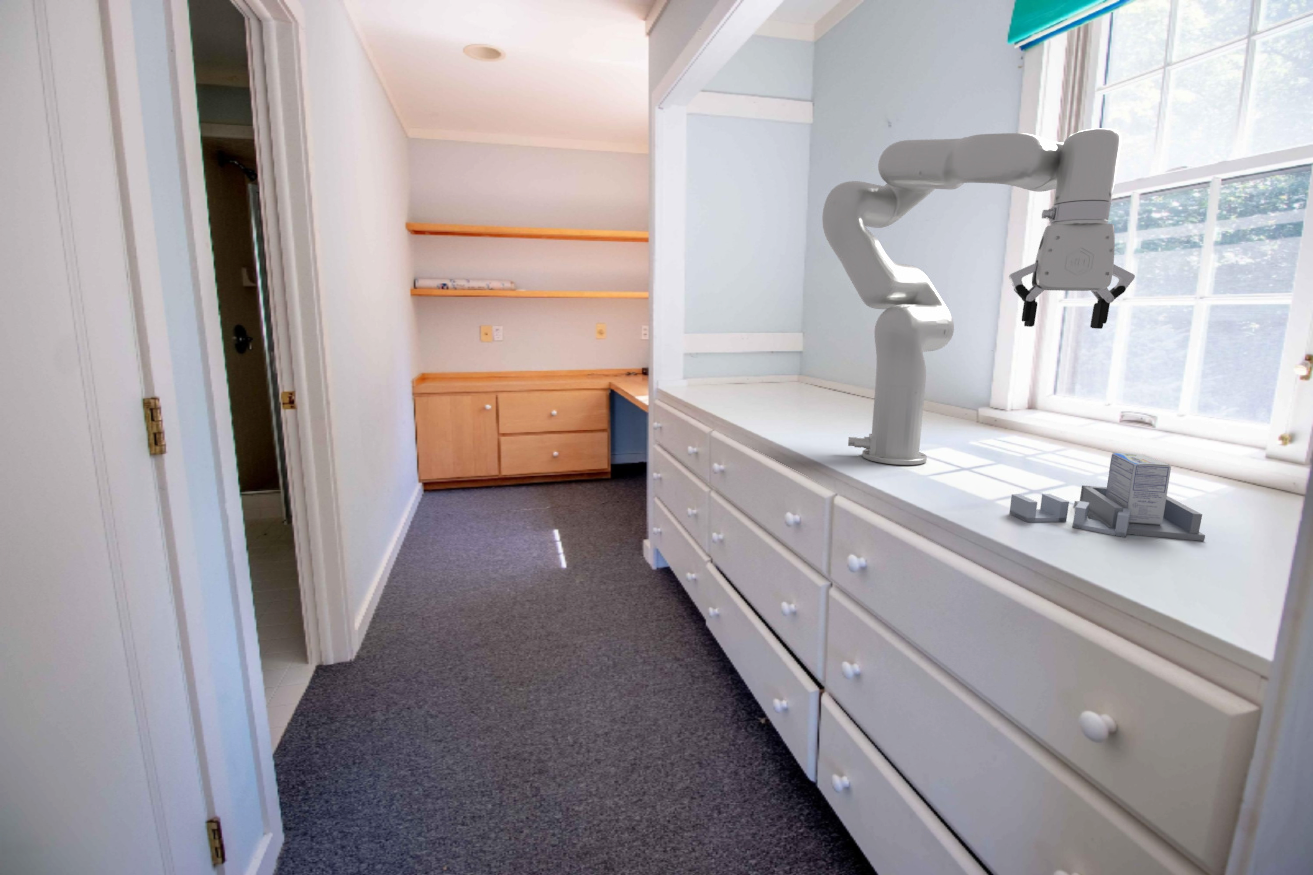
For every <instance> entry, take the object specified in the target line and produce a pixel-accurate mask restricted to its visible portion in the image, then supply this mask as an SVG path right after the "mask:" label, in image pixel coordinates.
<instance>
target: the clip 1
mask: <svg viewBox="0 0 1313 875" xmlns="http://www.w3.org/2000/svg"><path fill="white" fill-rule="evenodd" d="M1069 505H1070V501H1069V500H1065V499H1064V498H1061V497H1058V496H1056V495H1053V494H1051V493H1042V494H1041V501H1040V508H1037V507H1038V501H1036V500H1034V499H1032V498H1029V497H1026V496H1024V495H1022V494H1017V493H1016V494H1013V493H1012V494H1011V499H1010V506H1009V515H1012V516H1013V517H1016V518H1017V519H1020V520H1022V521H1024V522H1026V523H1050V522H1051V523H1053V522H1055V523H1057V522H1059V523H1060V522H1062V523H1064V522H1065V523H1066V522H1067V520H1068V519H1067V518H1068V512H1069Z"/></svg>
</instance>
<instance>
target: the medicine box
mask: <svg viewBox="0 0 1313 875" xmlns="http://www.w3.org/2000/svg"><path fill="white" fill-rule="evenodd" d="M1109 462H1110V463H1109V470H1108V477H1107V482H1106V483H1107V484H1106V487H1107V489H1106V497H1107V498H1109V499H1110V500H1112V501H1113V502H1115V503H1116V504H1118V505H1119V506H1121V507H1123V508H1125V509H1131V514H1130V520H1129V523H1138V524H1150V525H1161V524H1162V523H1163V517H1164V510H1165V503H1166V497H1167V496H1168V490H1169V483H1170V477H1171V476H1170V475H1171V470H1172V469H1171V468H1172V466H1171V465H1170V464H1167V463H1166V462H1164V461H1161V460H1159V459H1157V458H1155V457H1152V456H1149V455H1147V454H1145V453H1144V454H1143V453H1142V454H1141V453H1133V452H1132V453H1131V452H1115V453H1114V452H1113V453H1112V454H1111V456H1110V461H1109Z"/></svg>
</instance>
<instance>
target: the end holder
mask: <svg viewBox="0 0 1313 875" xmlns="http://www.w3.org/2000/svg"><path fill="white" fill-rule="evenodd" d="M1106 489H1107V486H1095V485H1084V484H1083V485H1081V491H1080V496H1079V500H1074V503H1073V507H1076V505H1077V504H1078V502H1079V501H1083V502H1089V509H1088V516H1087V518H1088V519H1093V520H1098V521H1100V522H1101V523H1103V524H1104V525H1105V526H1107V527H1108V528H1110V529H1116V522H1117V516H1118V513H1119V511H1121V512H1123V509H1124V508H1123V507H1121V506H1119V505H1118V504H1116V503H1115V502H1113V501H1112V500H1110V499H1109V498H1107V497H1106ZM1202 517H1203V514H1202V513H1201V512H1198V511H1197V510H1195V509H1192V508H1191V507H1189V506H1188V505H1185V504H1183V503H1182V502H1179V501H1177V500H1176V499H1174V498H1172V497H1170V496H1169V495H1167V497H1166V503H1165V510H1164V517H1163V523H1162V524H1161V525H1150V524H1138V523H1129V525H1128V528H1127V534H1126V535H1130V534H1135V535H1134V536H1142V535H1143V536H1144V537H1155V538H1156V537H1157V538H1167V539H1176V540H1177V539H1178V540H1187V541H1189V540H1190V541H1200V542H1205V539H1206V535H1205V534H1203V533H1202V532H1200V528H1201V523H1202ZM1143 536H1142V537H1143Z"/></svg>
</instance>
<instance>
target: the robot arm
mask: <svg viewBox="0 0 1313 875" xmlns="http://www.w3.org/2000/svg"><path fill="white" fill-rule="evenodd" d="M1121 146H1122V135H1121V133H1120V132H1119V131H1118V130H1116V129H1112V128H1102V127H1100V128H1091V129H1085V130H1080V131H1077V132H1074V133H1071V134H1070V135H1069V136H1067V137H1066V139H1065V140H1064V141H1063V142H1060V141H1059V142H1058V141H1053V140H1049V139H1046V138H1044V137H1041V136H1037V135H1034V134H1030V133H1025V132H1024V133H1022V132H1011V133H1010V132H1008V133H1006V132H1005V133H982V134H975V135H973V134H972V135H969V136H964V137H960V138H944V139H942V138H941V139H940V138H939V139H936V138H935V139H932V138H931V139H907V140H899V141H896V142H894V143H892V144H890V145H888V146H887V147H885V149H884V150H883V151H882V153H881V155H880V157H879V160H878V165H877V166H878V167H877V168H878V173H879V176H880V177H881V179H882V181H884V182H885V183H886V184H885V185H879V184H876V183H875V184H874V183H871V182H870V183H869V182H866V181H859V180H857V181H856V180H852V181H851V180H850V181H845V182H842V183H839V184H837V185H836V186H834V187H833V188H832V189H831V190H830V191H829V193H828V195H827V197H826V199H825V201H824V203H823V210H822V219H821V220H822V228H823V229H822V230H823V232H824V236H825V238H826V240H827V242H828V244H829V245H830V248H831V249H832V250H833V252H834V253H835V255H836V256H837V258H838V260H839V261H840V263H841V264H842V267H843V268H844V271H845V272H846V274H847V276H848V278H849V280H850V281H851V283H852V285H853V287H854V288H855V290H856V292H857V295H859V297H860V300H861V301H862V302H863V304H865V305H866V306H867V307H869V308H871V309H874V310H884V311H882V312H881V314H880V315H879V316H878V318H877V320H876V323H875V326H874V345H875V354H876V369H875V386H874V387H875V388H874V400H873V410H872V411H873V412H872V413H873V414H872V424H871V425H872V426H871V433H868V434H869V435H868V436H864V437H863V438H861V437H854V436H853V437H852V436H849V437H848V442H847V446H848V447H854V448H863V450H862V452H861V453H862V454H861V456H862V457H863V458H864V459H866V460H868V461H872V462H875V463H880V464H886V465H897V466H900V465H901V466H915V465H922V464H925V463H926V462H927V461H928V457H927V455H926V453H923V452H921V451H920V445H921V438H922V437H921V436H922V424H923V416H924V415H923V414H924V402H925V394H926V381H927V368H926V367H927V366H926V361H925V357H924V353H925V352H934V351H938V350H940V349H942V348H944V347H945V346H947V345H948V344H949V342H951V340H952V338H953V335H954V331H955V322H954V319H953V317H952V314H951V312H950V310H949V309H948V307H947V305H946V304H945V302H944V301H943V299H942V297H941V295H940V293H939V292H938V291H937V289H936V288H935V286H934V285H933V283H932V281H931V280H930V279H929V277H928V276H927V274H925V273H926V272H924V271H922V270H921V269H920V268H918V267H916V266H915V265H910V264H906V263H897V262H895V261H894V260H892V259H891V258H890V256H889V255H888V253H886V251H885V250H884V247H883V246H882V244H881V242H880V241H879V239H878V238H877V237H876V235H874V234H873V233H872V232H871V231H870V230H869V229H868V228H875V229H882V228H885V227H886V228H887V227H889V226H891V225H893V224H895V223H896V222H897V221H898V220H899V219H901V218H903V216H905V215H906V214H907V213H908V212H910V211H911V210H912V209H913V208H914V207H915V206H917V205H918V204H920V202H922V201H923V200H924V199H925V198H926V197H928V195H930V194H931V193H933V191H934V190H948V191H949V190H956V189H958V188H961V186H962V185H964V184H973V183H974V184H976V183H977V184H995V185H996V184H997V185H998V184H999V185H1008V186H1012V187H1017V188H1021V189H1024V190H1027V191H1030V192H1037V193H1038V192H1039V193H1040V192H1047V191H1052V190H1055V192H1054V200H1053V206H1051V208H1049V209H1043V210H1042V211H1041V212H1042V213H1041V219H1042V220H1043V219H1046V220H1048V221H1049V225H1047V226H1046V227H1045V229H1044V232H1043V233H1042V237H1041V240H1040V243H1039V246H1038V250H1037V254H1036V258H1035V261H1034V263H1032V264H1029V265H1028V266H1025V267H1023V268H1020V269H1019V270H1016V271H1014V272H1012V273H1010V274H1009V276H1008V278H1009V281H1010V283H1011V285H1012V287H1013V291H1014V292H1015V293H1016V294H1017V296H1019V297H1020V299H1021V300H1022V302H1023V308H1022V314H1021V321H1022V322H1024V324H1023V325H1024V327H1029V328H1030V327H1031V328H1033V327H1035V322H1036V316H1037V308H1038V302H1037V301H1036V299H1037V298H1038V297H1039V296H1040V295H1041V294H1042V293H1043V292H1044V291H1065V292H1067V291H1069V292H1070V291H1072V292H1074V291H1076V292H1078V291H1079V292H1081V291H1082V292H1084V291H1086V292H1089V291H1090V292H1091V293H1092V295H1093V296H1094V297H1095V298H1096V300H1097V302H1095V303H1094V304H1093V309H1092V313H1091V320H1090V328H1091V329H1096V330H1097V329H1098V330H1099V329H1100V330H1102V329H1103V326H1104V324H1107V321H1108V316H1109V312H1110V311H1109V310H1110V304H1112V303H1114V301H1115V300H1116V299H1118V298H1119V297H1120V296H1121V295H1122V294H1124V293H1125V292H1126V289H1127V288H1128V287H1129V286H1130V284H1131V283H1132V282H1133V281H1134V280H1135V278H1136V276H1135V274H1134V273H1132V272H1130V271H1128V270H1127V269H1124V268H1122V267H1120V266H1118V265H1116V264H1115V263H1114V262H1115V249H1116V248H1115V247H1116V246H1115V242H1116V240H1115V239H1116V237H1115V236H1116V235H1115V234H1116V233H1115V225H1114V224H1113V223H1108V222H1109V218H1110V217H1109V216H1110V212H1111V205H1112V199H1113V193H1114V186H1115V181H1116V176H1117V169H1118V164H1119V163H1118V162H1119V158H1120V151H1121ZM867 227H868V228H867ZM1031 274H1032V277H1031V285H1032V286H1031V287H1030V289H1028V288H1027V287H1026V286H1025V285H1024V283H1023V278H1024V277H1027V276H1029V275H1031ZM1113 277H1115V278H1117V279H1118V282H1117V283H1116V285H1115V286H1114V287H1112V288H1111V289H1110V290H1109V288H1108V287H1109V286H1111V283H1112V280H1113Z"/></svg>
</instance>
